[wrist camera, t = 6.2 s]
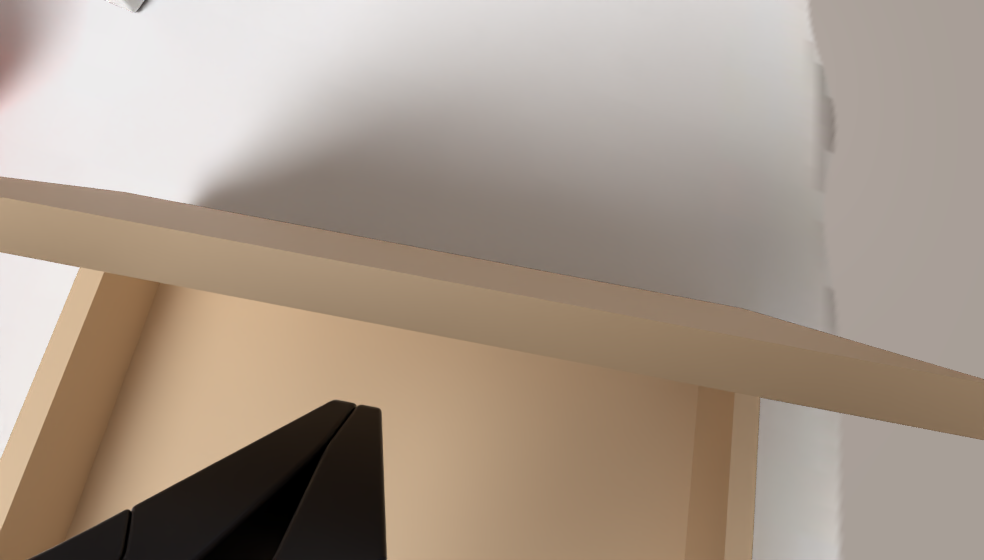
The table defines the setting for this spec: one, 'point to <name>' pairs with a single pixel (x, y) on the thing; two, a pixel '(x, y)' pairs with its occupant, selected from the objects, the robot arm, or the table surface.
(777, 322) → the carton flap
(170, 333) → the carton
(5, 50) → the table surface
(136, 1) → the small box
